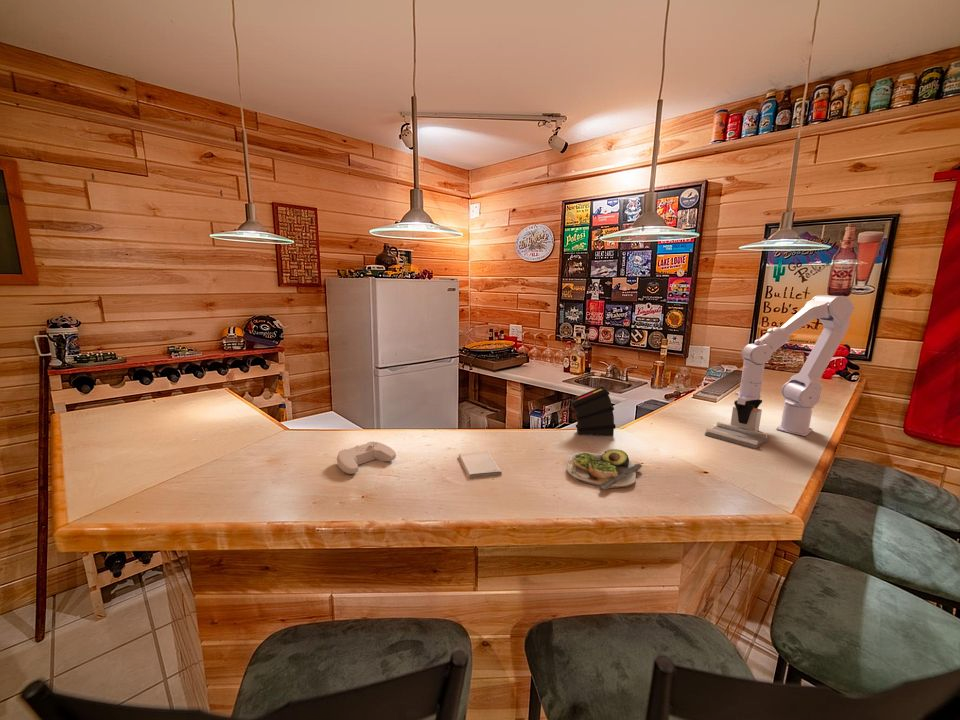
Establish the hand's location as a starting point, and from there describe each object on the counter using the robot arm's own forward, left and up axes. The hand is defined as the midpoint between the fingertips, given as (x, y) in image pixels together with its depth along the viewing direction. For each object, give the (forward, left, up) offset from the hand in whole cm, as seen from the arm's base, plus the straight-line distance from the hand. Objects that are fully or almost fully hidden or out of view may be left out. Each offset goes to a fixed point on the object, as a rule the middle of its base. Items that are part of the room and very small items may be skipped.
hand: (745, 421), depth 138 cm
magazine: (+44, -29, -3) cm, 53 cm away
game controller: (+108, -53, -3) cm, 120 cm away
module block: (0, 0, -2) cm, 2 cm away
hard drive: (+86, -34, -3) cm, 93 cm away
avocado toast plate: (+64, -12, -3) cm, 65 cm away
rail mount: (+11, +1, -2) cm, 11 cm away
